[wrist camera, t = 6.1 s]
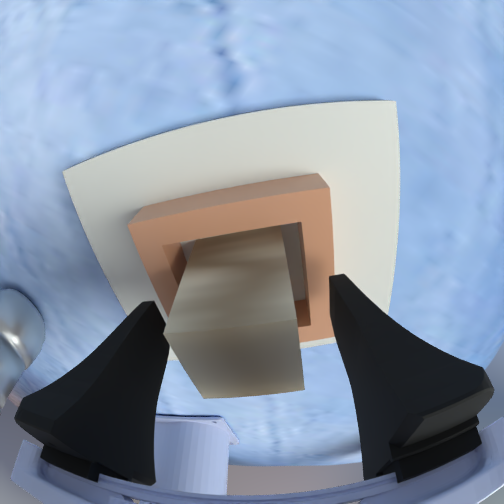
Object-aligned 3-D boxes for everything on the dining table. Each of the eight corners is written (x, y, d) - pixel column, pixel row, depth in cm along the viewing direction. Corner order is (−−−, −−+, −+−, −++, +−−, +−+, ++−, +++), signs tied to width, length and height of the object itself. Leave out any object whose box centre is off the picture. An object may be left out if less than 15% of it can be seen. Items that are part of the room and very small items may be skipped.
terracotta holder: (193, 328, 16) (187, 354, 14) (143, 206, 12) (127, 224, 10) (327, 311, 15) (334, 336, 14) (318, 173, 11) (329, 187, 10)
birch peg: (217, 303, 15) (203, 398, 10) (195, 239, 13) (163, 333, 8) (290, 292, 15) (304, 389, 10) (280, 225, 13) (296, 318, 8)
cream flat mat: (158, 350, 19) (155, 360, 18) (72, 166, 12) (62, 171, 11) (379, 321, 17) (384, 332, 16) (386, 100, 10) (395, 101, 9)
